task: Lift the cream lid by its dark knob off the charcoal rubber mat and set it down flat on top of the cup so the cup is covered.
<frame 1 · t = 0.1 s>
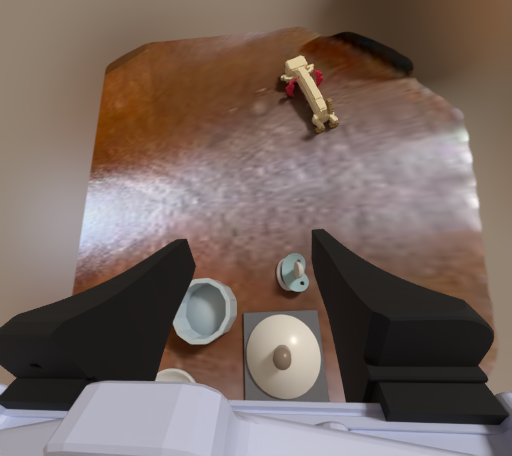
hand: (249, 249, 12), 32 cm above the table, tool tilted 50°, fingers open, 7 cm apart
spoon rest: (176, 442, 36), on the table
cup: (210, 308, 42), on the table
cream plush toy: (307, 99, 58), on the table
mat: (282, 352, 38), on the table
pacifier: (291, 274, 43), on the table
lid: (282, 353, 37), resting on mat
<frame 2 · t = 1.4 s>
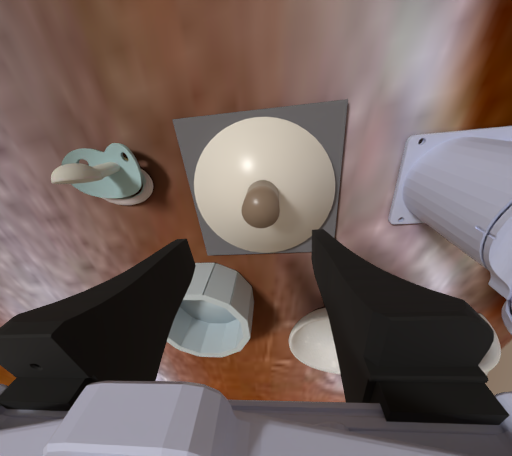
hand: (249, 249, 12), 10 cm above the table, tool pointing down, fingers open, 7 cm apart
spoon rest: (374, 319, 29), on the table
cup: (212, 295, 28), on the table
mat: (263, 191, 20), on the table
pacifier: (123, 174, 21), on the table
lid: (263, 193, 20), resting on mat
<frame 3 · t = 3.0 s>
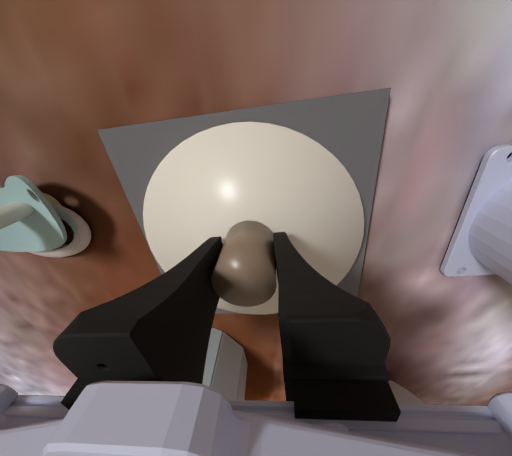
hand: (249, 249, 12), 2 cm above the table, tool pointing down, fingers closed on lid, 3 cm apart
spoon rest: (409, 381, 22), on the table
cup: (192, 356, 21), on the table
mat: (252, 233, 14), on the table
pacifier: (47, 215, 14), on the table
lid: (251, 237, 13), resting on mat, touching gripper
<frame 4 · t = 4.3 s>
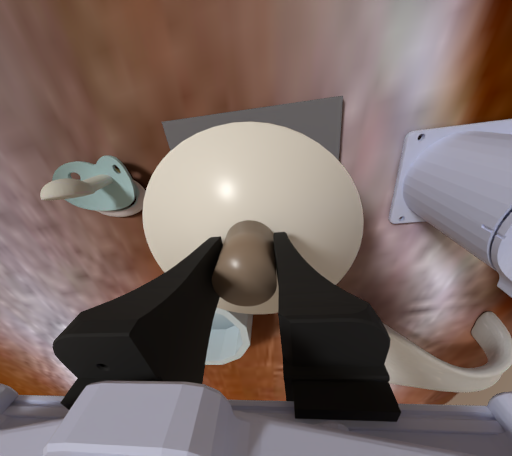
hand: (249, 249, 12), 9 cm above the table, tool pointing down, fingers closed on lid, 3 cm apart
spoon rest: (381, 321, 28), on the table
cup: (210, 301, 27), on the table
mat: (258, 194, 20), on the table
pacifier: (116, 186, 21), on the table
lid: (251, 237, 13), point 8 cm above the table, touching gripper
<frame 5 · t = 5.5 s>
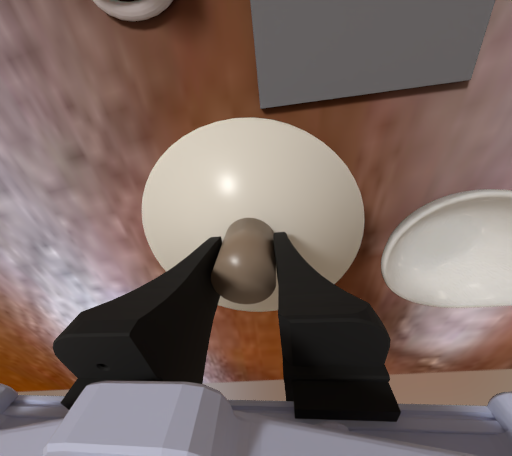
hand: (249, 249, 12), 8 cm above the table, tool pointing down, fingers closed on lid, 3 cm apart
spoon rest: (499, 227, 20), on the table
lid: (251, 234, 13), point 7 cm above the table, touching gripper
when the fingers open (8 cm above the table, at t = 6.0 s): lid drops 1 cm, resting on cup.
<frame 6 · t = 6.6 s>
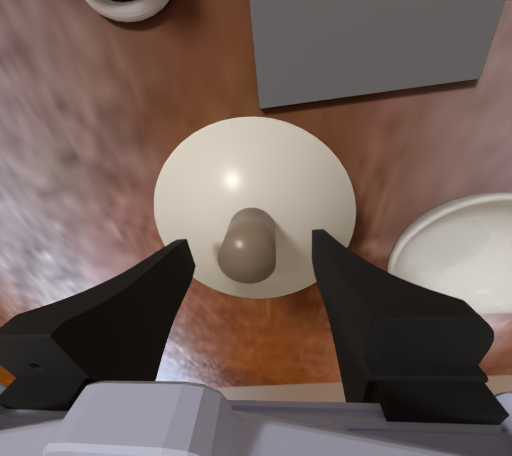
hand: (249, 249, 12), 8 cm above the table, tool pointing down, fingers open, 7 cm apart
spoon rest: (509, 231, 19), on the table
lid: (253, 224, 14), point 5 cm above the table, touching cup
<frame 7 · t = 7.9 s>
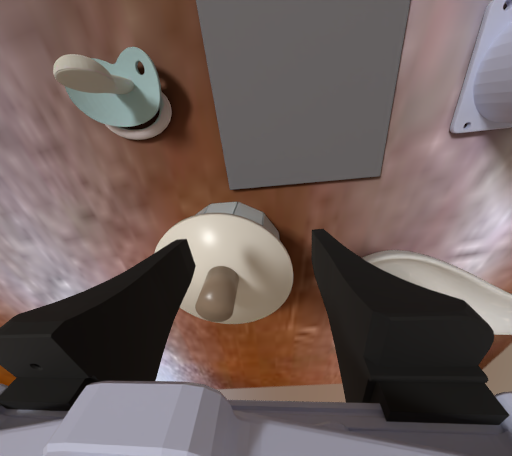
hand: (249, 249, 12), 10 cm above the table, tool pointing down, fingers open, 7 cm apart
spoon rest: (427, 269, 25), on the table
cup: (232, 246, 24), on the table
mat: (300, 97, 17), on the table
pacifier: (135, 101, 18), on the table
lid: (224, 274, 20), point 5 cm above the table, touching cup
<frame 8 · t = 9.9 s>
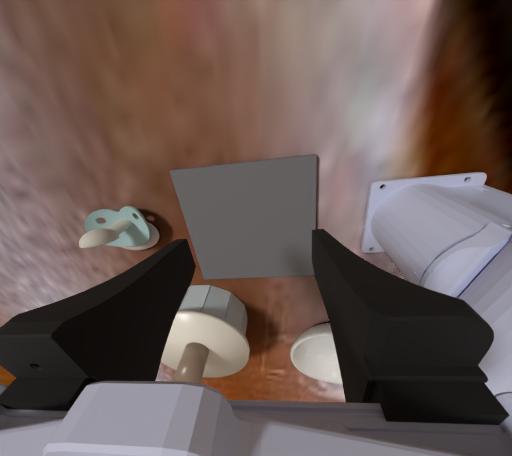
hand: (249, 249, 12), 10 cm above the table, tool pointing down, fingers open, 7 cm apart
spoon rest: (369, 332, 31), on the table
cup: (209, 312, 31), on the table
mat: (250, 226, 23), on the table
pacifier: (133, 225, 25), on the table
lid: (198, 344, 26), point 5 cm above the table, touching cup
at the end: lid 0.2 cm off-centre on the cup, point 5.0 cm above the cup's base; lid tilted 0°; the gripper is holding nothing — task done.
